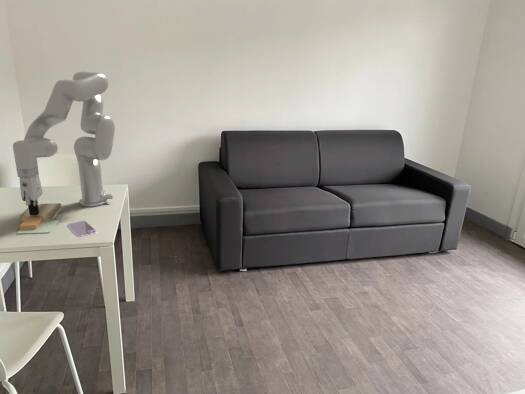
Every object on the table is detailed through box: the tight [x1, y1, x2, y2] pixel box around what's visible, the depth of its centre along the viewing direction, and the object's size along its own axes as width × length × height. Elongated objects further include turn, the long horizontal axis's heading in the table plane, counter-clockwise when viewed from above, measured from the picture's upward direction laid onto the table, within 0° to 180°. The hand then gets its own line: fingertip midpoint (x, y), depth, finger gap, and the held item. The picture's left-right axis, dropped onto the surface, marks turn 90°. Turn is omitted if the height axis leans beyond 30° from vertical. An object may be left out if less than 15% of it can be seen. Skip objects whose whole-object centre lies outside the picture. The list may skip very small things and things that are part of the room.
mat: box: [16, 219, 60, 235], centre depth 164 cm, size 12×12×1 cm
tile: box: [19, 217, 43, 230], centre depth 165 cm, size 6×9×2 cm, turn 12°
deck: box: [19, 202, 62, 223], centre depth 176 cm, size 12×14×3 cm
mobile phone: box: [67, 220, 98, 238], centre depth 165 cm, size 8×1×15 cm
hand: (34, 214), depth 168 cm, fingers closed
